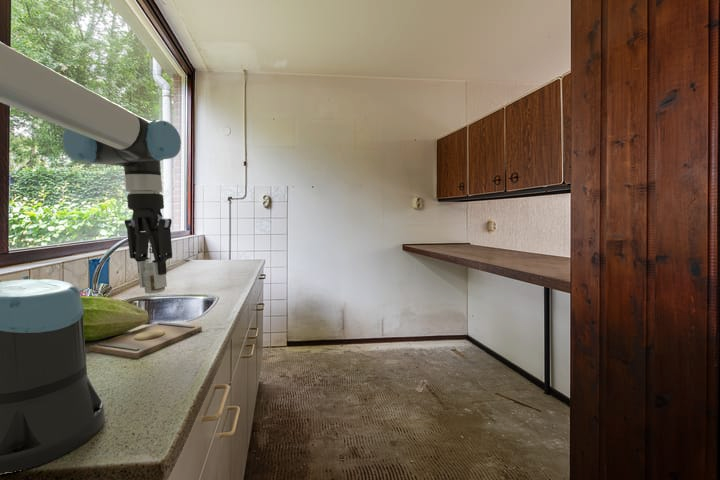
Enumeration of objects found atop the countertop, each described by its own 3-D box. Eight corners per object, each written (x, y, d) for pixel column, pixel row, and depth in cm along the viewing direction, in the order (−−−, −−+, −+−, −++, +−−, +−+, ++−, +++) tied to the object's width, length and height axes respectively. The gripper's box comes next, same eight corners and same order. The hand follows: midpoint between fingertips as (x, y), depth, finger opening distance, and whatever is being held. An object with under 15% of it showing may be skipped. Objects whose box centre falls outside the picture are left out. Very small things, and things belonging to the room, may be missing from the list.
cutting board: (136, 358, 80) (136, 351, 80) (89, 350, 85) (89, 344, 85) (201, 330, 98) (201, 325, 98) (160, 325, 104) (159, 320, 104)
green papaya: (149, 318, 93) (151, 284, 102) (41, 323, 81) (54, 284, 90) (146, 349, 98) (148, 314, 108) (45, 359, 87) (56, 319, 96)
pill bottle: (155, 294, 83) (152, 263, 82) (140, 293, 84) (137, 263, 83) (169, 289, 87) (166, 260, 86) (155, 289, 88) (151, 260, 87)
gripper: (184, 192, 83) (191, 285, 86) (135, 195, 90) (143, 281, 92) (156, 191, 76) (165, 292, 79) (105, 194, 83) (114, 288, 85)
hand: (153, 286), depth 85 cm, fingers closed on pill bottle, 4 cm apart
